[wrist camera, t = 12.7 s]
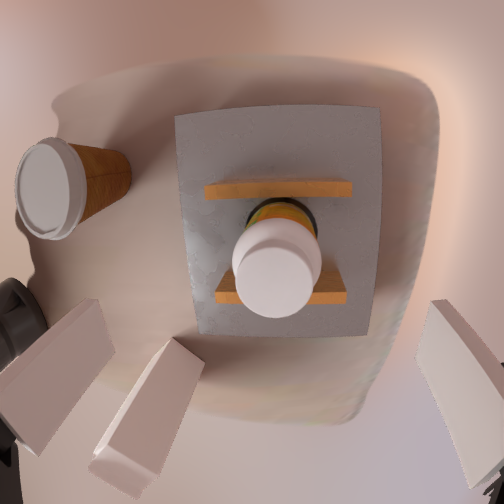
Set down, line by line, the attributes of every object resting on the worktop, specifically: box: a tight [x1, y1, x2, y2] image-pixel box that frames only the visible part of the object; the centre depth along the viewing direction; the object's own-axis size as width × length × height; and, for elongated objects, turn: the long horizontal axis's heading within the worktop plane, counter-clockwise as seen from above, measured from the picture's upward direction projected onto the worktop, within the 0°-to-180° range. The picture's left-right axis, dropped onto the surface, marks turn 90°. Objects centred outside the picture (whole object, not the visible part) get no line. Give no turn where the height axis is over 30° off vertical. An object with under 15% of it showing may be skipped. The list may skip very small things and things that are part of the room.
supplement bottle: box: [232, 202, 322, 318], centre depth 19 cm, size 5×5×10 cm
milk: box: [88, 338, 205, 500], centre depth 27 cm, size 6×6×22 cm
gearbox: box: [174, 104, 382, 337], centre depth 24 cm, size 17×21×10 cm
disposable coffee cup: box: [15, 137, 131, 240], centre depth 24 cm, size 10×10×12 cm
